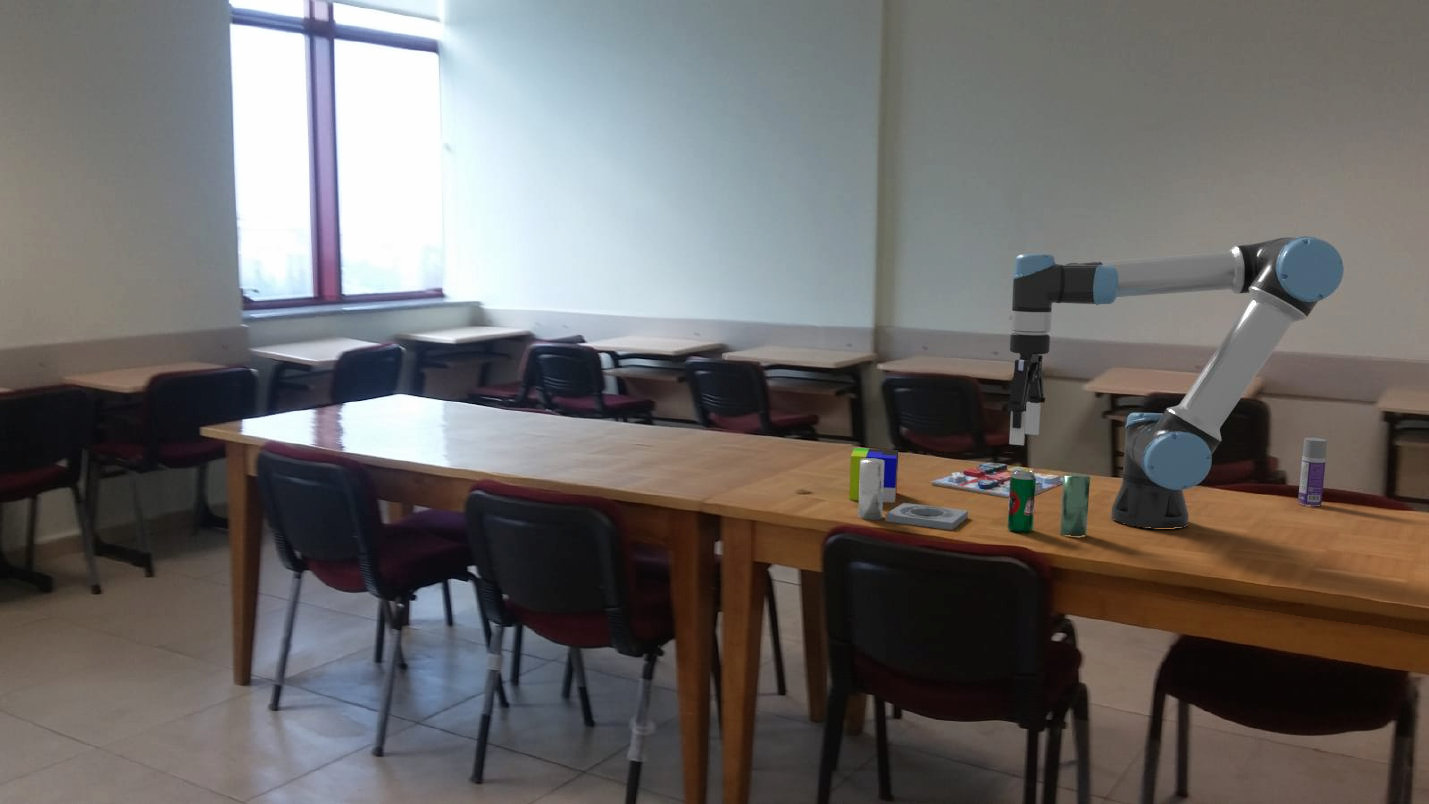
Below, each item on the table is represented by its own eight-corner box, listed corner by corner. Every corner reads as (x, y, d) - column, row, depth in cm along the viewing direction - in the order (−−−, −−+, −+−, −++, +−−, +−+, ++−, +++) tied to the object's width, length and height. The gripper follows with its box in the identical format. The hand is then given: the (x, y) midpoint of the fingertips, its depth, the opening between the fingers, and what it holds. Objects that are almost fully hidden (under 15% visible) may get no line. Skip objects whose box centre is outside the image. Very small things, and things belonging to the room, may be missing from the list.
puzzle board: (1021, 503, 257) (1021, 491, 257) (929, 487, 272) (930, 476, 271) (1073, 482, 281) (1074, 471, 280) (987, 469, 295) (987, 459, 295)
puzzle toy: (894, 502, 253) (896, 458, 251) (849, 500, 255) (850, 455, 253) (896, 493, 263) (898, 450, 261) (852, 490, 265) (854, 448, 263)
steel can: (885, 515, 240) (887, 459, 239) (877, 520, 236) (879, 463, 234) (862, 512, 243) (864, 457, 241) (854, 517, 238) (856, 461, 236)
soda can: (1028, 535, 227) (1032, 475, 225) (1003, 531, 229) (1007, 472, 228) (1036, 529, 231) (1039, 471, 229) (1011, 526, 234) (1014, 468, 232)
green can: (1088, 533, 228) (1092, 475, 227) (1083, 539, 224) (1087, 479, 222) (1062, 530, 231) (1066, 472, 229) (1057, 536, 226) (1061, 476, 225)
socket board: (967, 517, 240) (968, 510, 240) (951, 530, 229) (952, 522, 229) (903, 509, 246) (903, 502, 246) (885, 521, 236) (885, 514, 235)
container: (1323, 504, 258) (1330, 439, 256) (1317, 508, 255) (1323, 442, 252) (1301, 501, 261) (1307, 436, 259) (1295, 504, 258) (1301, 439, 256)
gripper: (1025, 328, 237) (1019, 428, 240) (995, 336, 215) (990, 447, 218) (1062, 329, 234) (1056, 432, 237) (1036, 338, 212) (1029, 450, 215)
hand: (1024, 439), depth 228 cm, fingers open, 13 cm apart
